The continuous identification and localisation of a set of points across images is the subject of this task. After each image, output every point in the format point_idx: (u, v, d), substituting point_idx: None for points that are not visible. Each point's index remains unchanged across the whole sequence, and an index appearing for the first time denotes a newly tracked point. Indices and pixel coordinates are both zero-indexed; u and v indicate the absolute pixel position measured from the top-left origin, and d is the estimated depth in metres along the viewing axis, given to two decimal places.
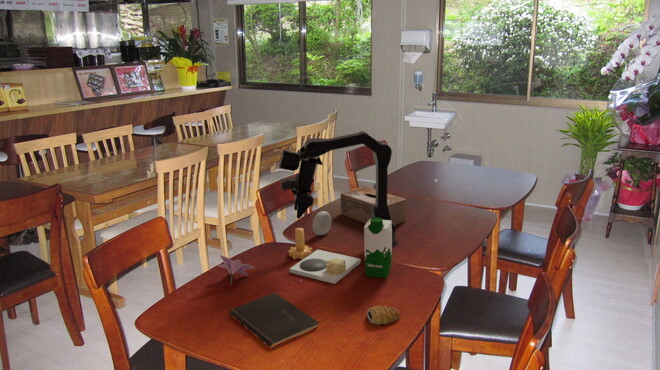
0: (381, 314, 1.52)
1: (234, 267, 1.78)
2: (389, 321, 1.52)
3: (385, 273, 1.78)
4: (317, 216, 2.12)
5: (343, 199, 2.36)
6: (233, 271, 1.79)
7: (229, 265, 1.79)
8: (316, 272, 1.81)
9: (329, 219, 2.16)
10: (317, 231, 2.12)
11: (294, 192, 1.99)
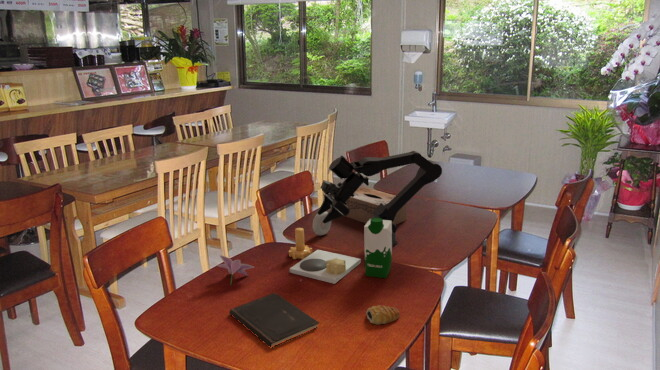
0: (381, 313, 1.52)
1: (234, 266, 1.78)
2: (388, 321, 1.52)
3: (385, 273, 1.78)
4: (317, 216, 2.12)
5: None
6: (233, 271, 1.79)
7: (229, 265, 1.79)
8: (316, 272, 1.81)
9: None
10: (317, 231, 2.12)
11: (326, 198, 2.01)
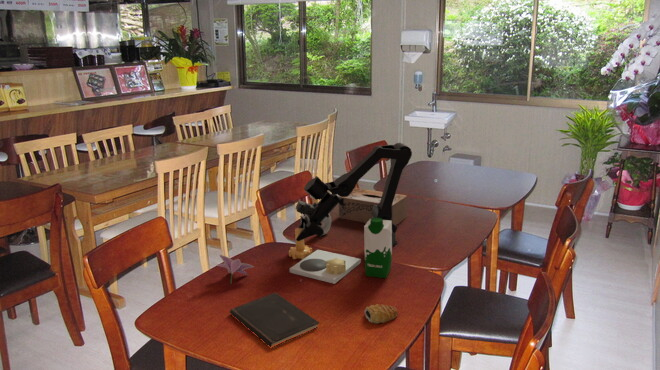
0: (379, 312, 1.53)
1: (234, 266, 1.79)
2: (387, 320, 1.53)
3: (385, 273, 1.78)
4: None
5: None
6: (233, 270, 1.79)
7: (229, 264, 1.80)
8: (316, 272, 1.81)
9: (329, 219, 2.16)
10: None
11: (303, 220, 1.98)
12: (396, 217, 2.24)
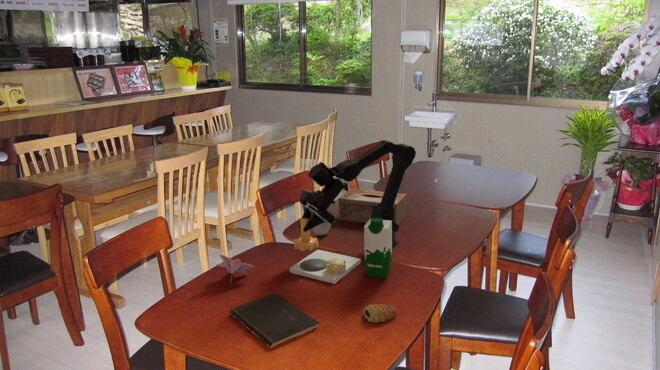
0: (379, 312, 1.53)
1: (234, 266, 1.79)
2: (386, 319, 1.53)
3: (385, 273, 1.78)
4: None
5: (342, 203, 2.30)
6: (233, 270, 1.79)
7: (229, 264, 1.80)
8: (316, 272, 1.81)
9: None
10: (317, 231, 2.12)
11: (306, 209, 1.89)
12: (398, 216, 2.25)
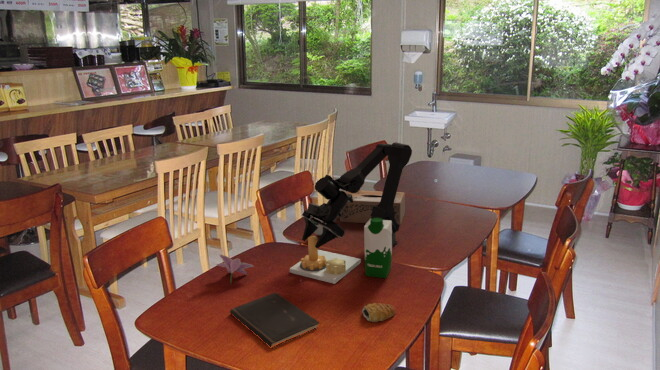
0: (378, 311, 1.54)
1: (234, 265, 1.79)
2: (385, 318, 1.54)
3: (385, 273, 1.78)
4: None
5: None
6: (232, 270, 1.79)
7: (228, 264, 1.80)
8: (316, 272, 1.81)
9: None
10: (317, 231, 2.12)
11: (309, 222, 1.87)
12: (401, 214, 2.27)
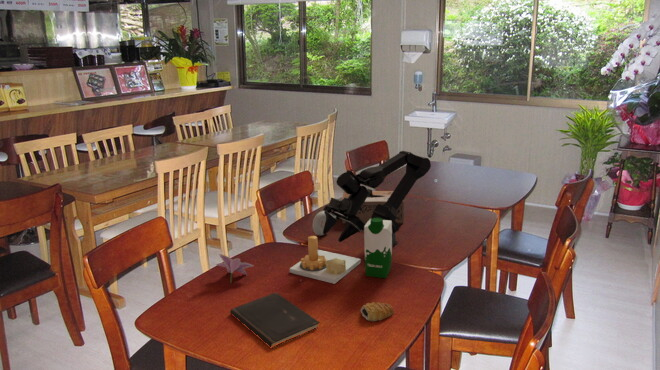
0: (376, 310, 1.54)
1: (234, 265, 1.79)
2: (384, 317, 1.54)
3: (385, 273, 1.78)
4: (317, 216, 2.12)
5: None
6: (232, 270, 1.80)
7: (228, 264, 1.80)
8: (316, 272, 1.81)
9: None
10: (317, 231, 2.12)
11: (329, 215, 1.93)
12: None
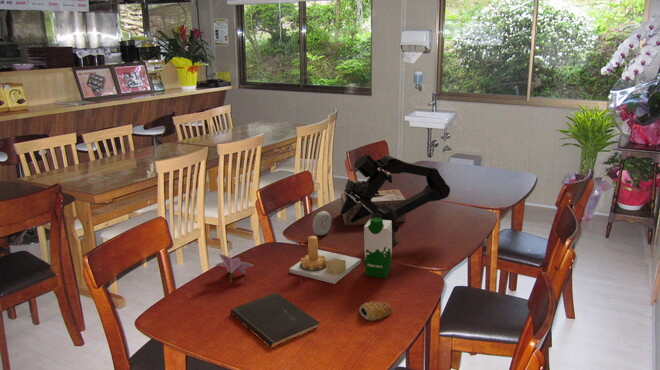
0: (375, 309, 1.54)
1: (234, 265, 1.80)
2: (382, 316, 1.55)
3: (385, 273, 1.78)
4: (317, 216, 2.12)
5: None
6: (232, 269, 1.80)
7: (228, 263, 1.80)
8: (316, 272, 1.81)
9: (329, 219, 2.16)
10: (317, 231, 2.12)
11: (348, 197, 2.00)
12: None
